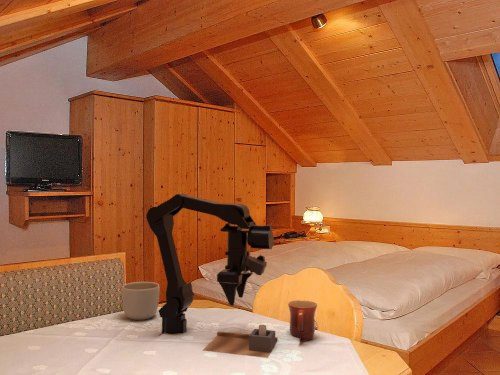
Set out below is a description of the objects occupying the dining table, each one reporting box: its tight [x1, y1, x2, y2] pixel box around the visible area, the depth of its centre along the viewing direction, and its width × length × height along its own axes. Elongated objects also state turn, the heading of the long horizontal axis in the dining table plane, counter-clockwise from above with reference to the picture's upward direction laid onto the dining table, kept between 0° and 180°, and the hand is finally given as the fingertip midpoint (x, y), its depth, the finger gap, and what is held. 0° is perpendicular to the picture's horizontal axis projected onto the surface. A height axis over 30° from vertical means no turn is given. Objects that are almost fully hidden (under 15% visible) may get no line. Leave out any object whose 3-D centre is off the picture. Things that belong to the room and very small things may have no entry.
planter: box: [121, 281, 160, 321], centre depth 153 cm, size 12×12×11 cm
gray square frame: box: [249, 328, 276, 354], centre depth 123 cm, size 6×6×4 cm
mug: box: [287, 299, 318, 342], centre depth 133 cm, size 12×9×10 cm
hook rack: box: [202, 324, 279, 359], centre depth 124 cm, size 18×13×7 cm
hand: (236, 301), depth 130 cm, fingers open, 9 cm apart
